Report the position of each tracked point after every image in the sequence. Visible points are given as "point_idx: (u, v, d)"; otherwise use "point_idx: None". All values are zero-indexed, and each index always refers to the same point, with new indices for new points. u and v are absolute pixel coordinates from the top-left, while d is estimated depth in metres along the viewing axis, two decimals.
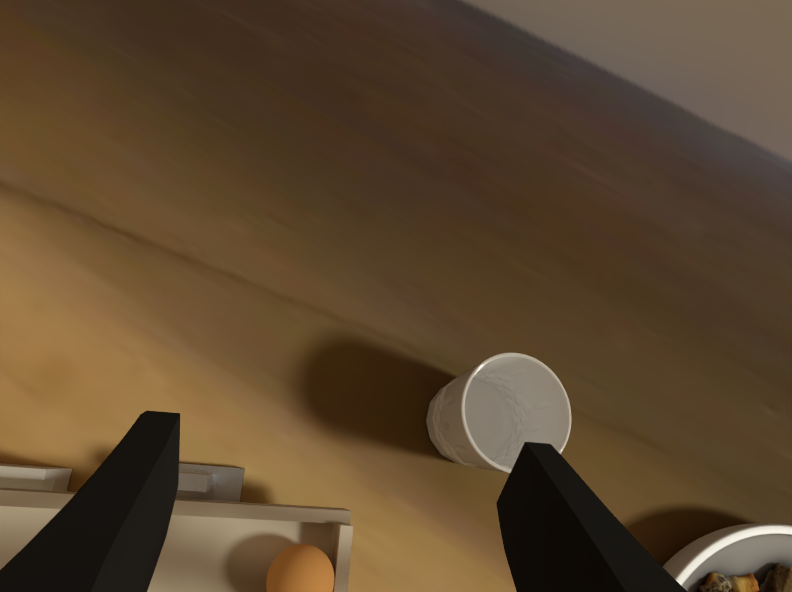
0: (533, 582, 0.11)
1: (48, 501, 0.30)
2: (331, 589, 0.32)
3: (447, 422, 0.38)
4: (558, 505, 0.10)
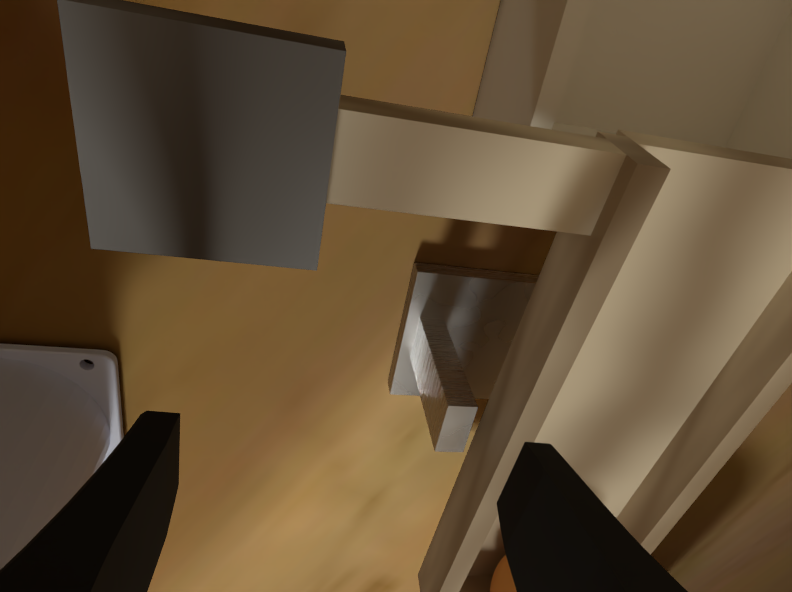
0: (532, 582, 0.11)
1: None
2: None
3: None
4: (558, 505, 0.10)
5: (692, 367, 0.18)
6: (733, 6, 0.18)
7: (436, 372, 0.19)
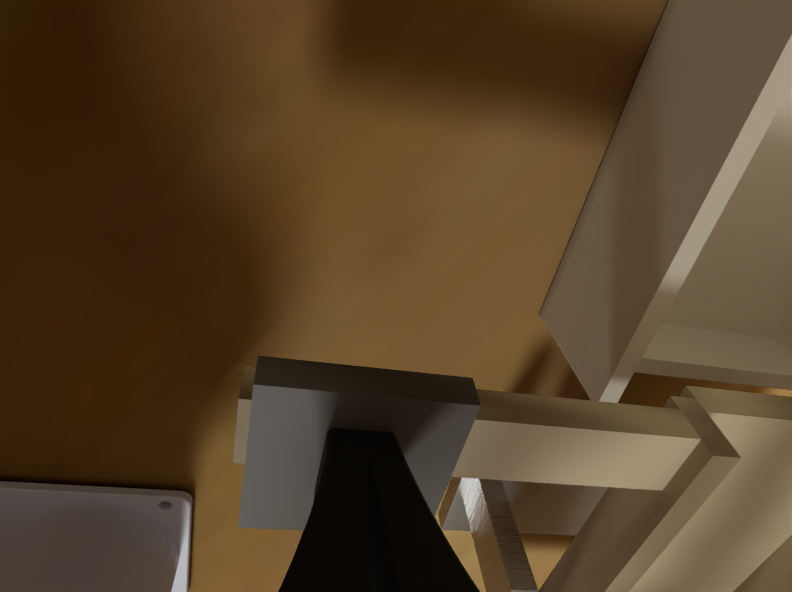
0: None
1: None
2: None
3: None
4: (372, 494, 0.09)
5: (737, 560, 0.19)
6: None
7: (497, 545, 0.20)
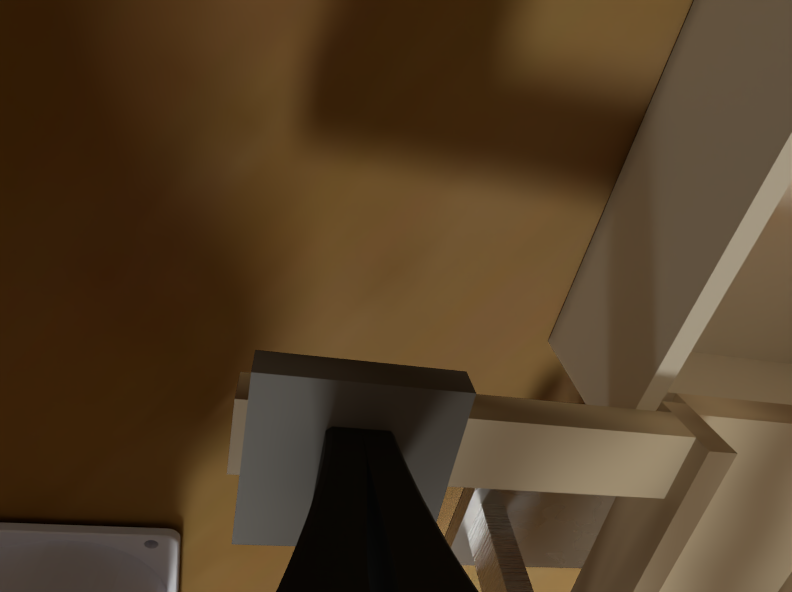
0: None
1: None
2: None
3: None
4: (371, 494, 0.09)
5: (751, 589, 0.18)
6: None
7: (505, 588, 0.19)
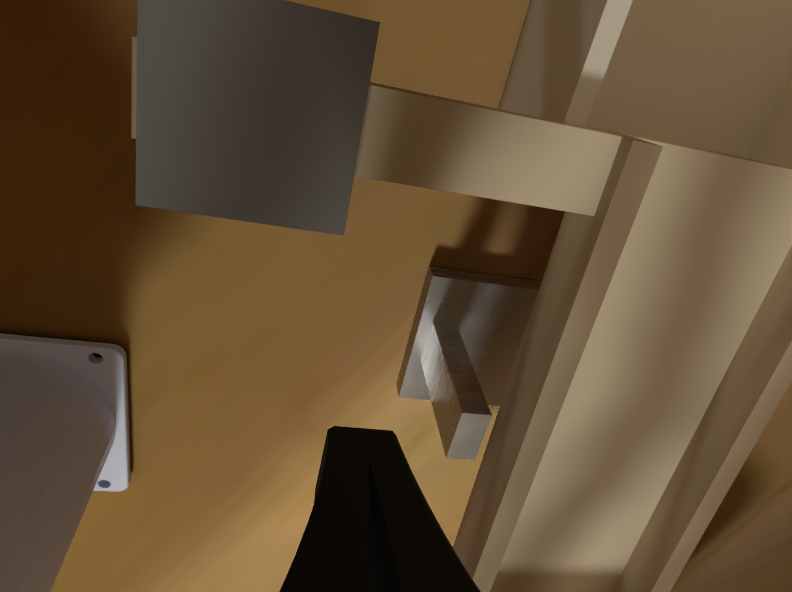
0: None
1: None
2: None
3: None
4: (373, 494, 0.09)
5: (697, 369, 0.18)
6: (762, 19, 0.18)
7: (450, 378, 0.19)
